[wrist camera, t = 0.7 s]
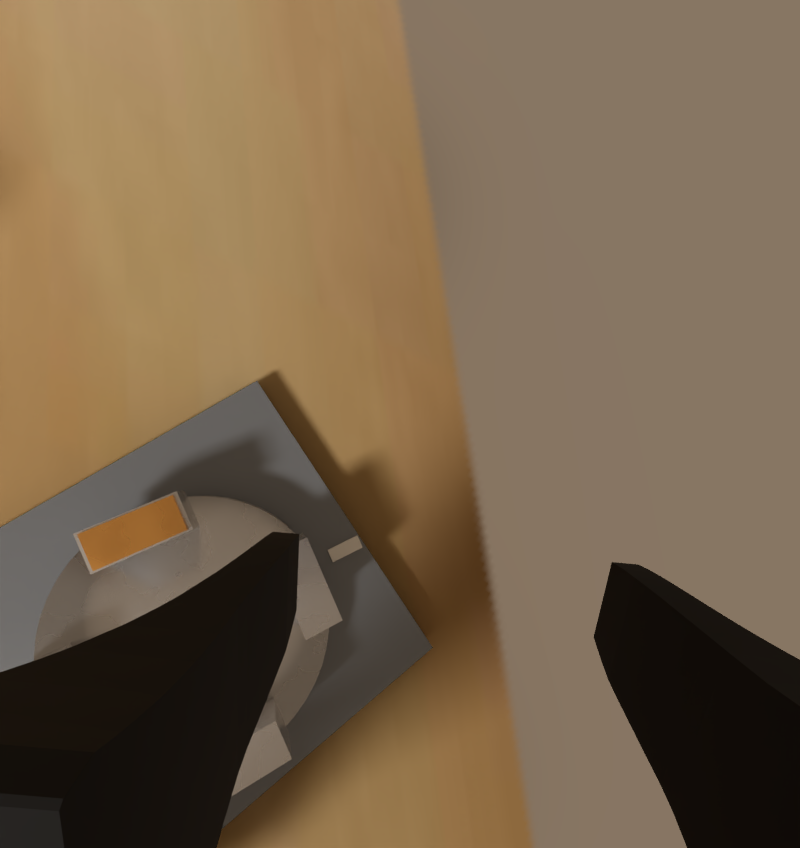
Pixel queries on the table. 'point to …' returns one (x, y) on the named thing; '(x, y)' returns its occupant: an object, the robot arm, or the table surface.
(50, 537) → the slate plate
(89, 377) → the table surface
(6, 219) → the table surface
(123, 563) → the silver lugged disc
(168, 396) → the table surface
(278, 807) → the table surface
